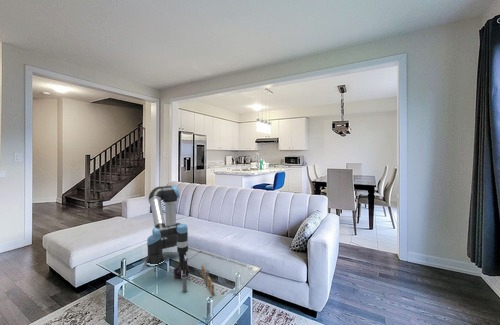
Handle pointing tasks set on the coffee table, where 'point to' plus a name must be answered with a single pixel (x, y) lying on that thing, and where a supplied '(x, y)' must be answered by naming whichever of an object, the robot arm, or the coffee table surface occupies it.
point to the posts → (184, 281)
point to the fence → (210, 285)
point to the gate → (204, 273)
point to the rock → (179, 271)
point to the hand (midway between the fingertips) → (183, 277)
